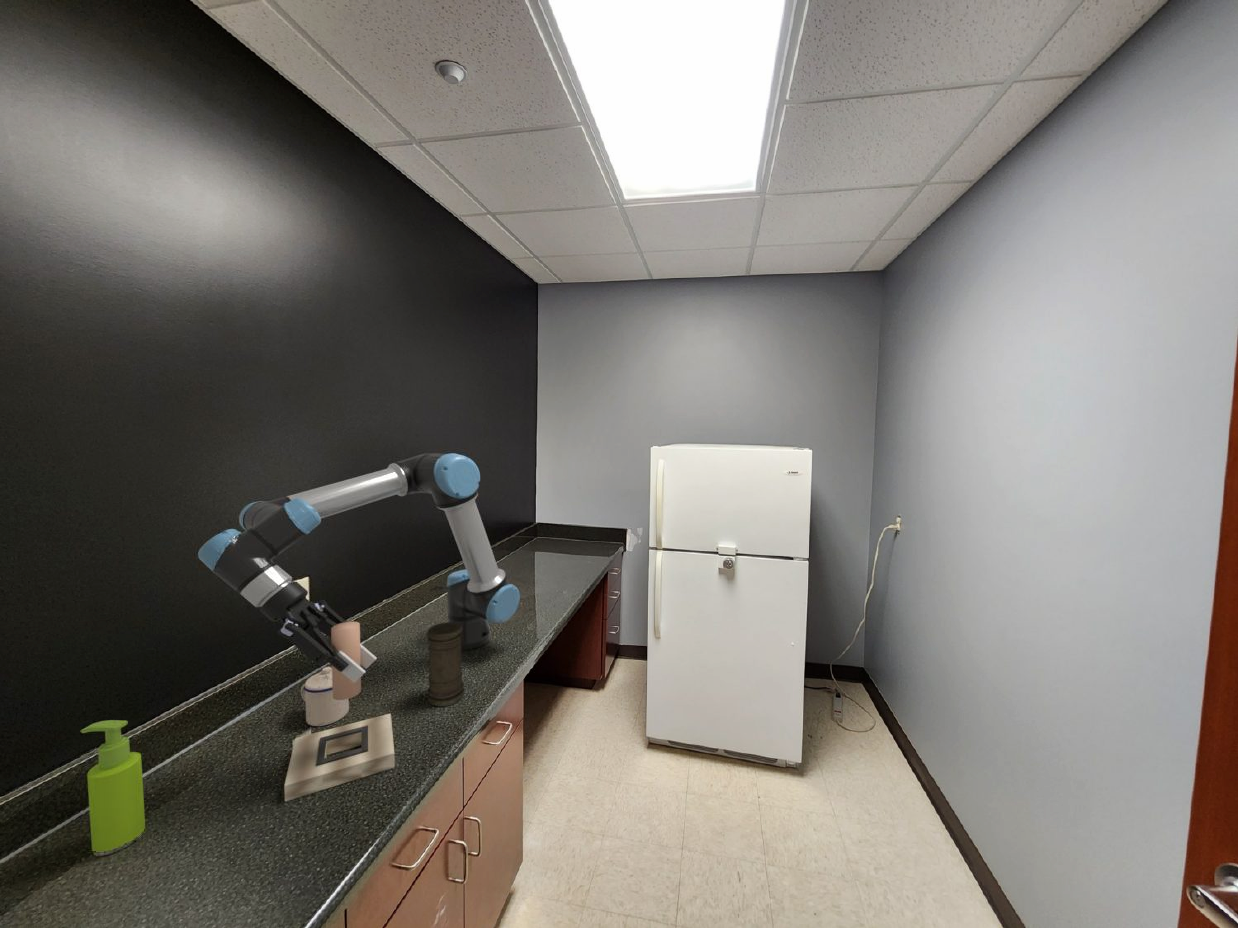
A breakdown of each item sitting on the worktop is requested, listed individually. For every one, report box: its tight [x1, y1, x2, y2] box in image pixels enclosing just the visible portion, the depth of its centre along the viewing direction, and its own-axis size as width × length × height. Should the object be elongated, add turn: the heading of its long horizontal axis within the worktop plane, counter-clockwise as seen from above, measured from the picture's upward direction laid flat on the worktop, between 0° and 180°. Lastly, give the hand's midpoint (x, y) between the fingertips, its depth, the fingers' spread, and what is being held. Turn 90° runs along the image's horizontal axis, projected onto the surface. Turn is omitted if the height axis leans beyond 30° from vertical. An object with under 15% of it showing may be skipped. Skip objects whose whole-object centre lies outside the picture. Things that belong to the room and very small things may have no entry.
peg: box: [330, 621, 362, 700], centre depth 93 cm, size 5×5×14 cm
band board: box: [284, 713, 396, 803], centre depth 94 cm, size 18×15×3 cm
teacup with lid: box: [300, 666, 350, 727], centre depth 108 cm, size 12×9×12 cm
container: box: [426, 621, 465, 707], centre depth 116 cm, size 9×9×18 cm
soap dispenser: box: [80, 719, 146, 852], centre depth 74 cm, size 6×7×20 cm
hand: (365, 669), depth 93 cm, fingers closed on peg, 5 cm apart
